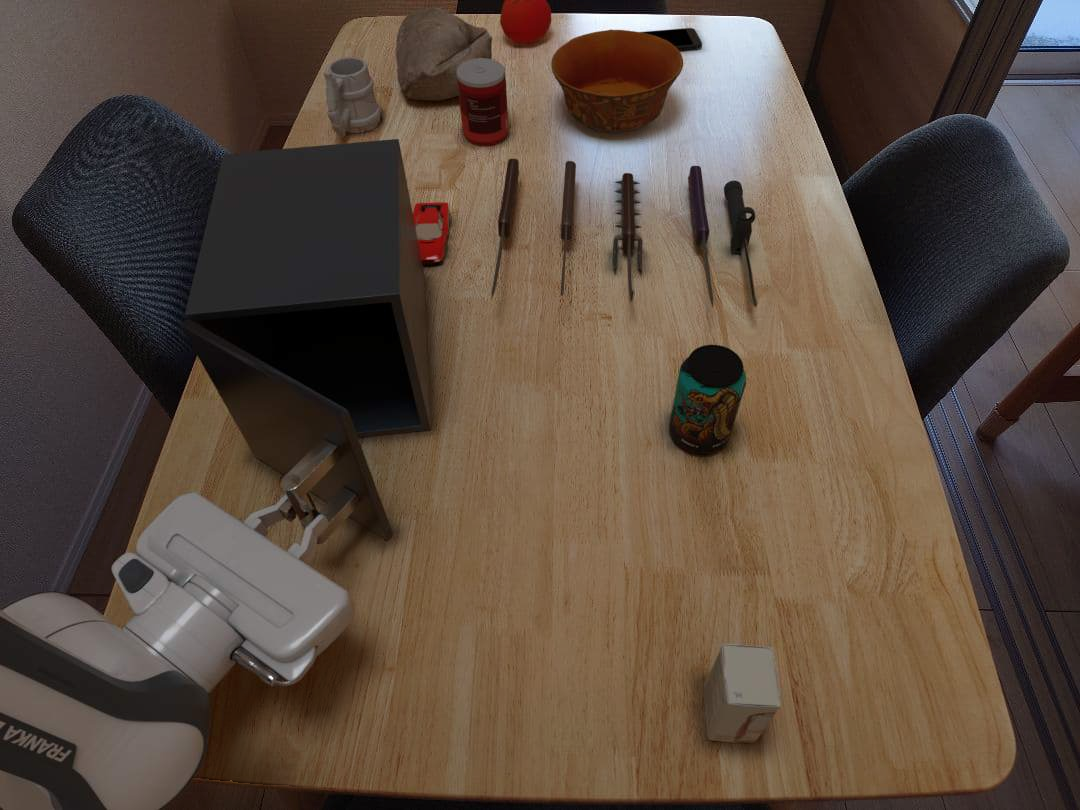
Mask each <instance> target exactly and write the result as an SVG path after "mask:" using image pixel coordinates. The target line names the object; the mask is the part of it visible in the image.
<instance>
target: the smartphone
mask: <svg viewBox="0 0 1080 810" xmlns="http://www.w3.org/2000/svg"><path fill="white" fill-rule="evenodd" d="M641 32H642V33H647V34H650V35H654V36H657V37H660V38H662V39H664V40H667V41H669V42H670V43H672V44H673V45H674V46H675V47H676V48H677V49H678V50H679V51H684V50H696V49H697V50H698V49H700V48H702V47H703V42H702V40H701V38H700V36H699V35H698V33H697V30H696V29H695V28H692V27H685V28H673V29H661V30H648V31H647V30H646V31H641Z"/></svg>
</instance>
